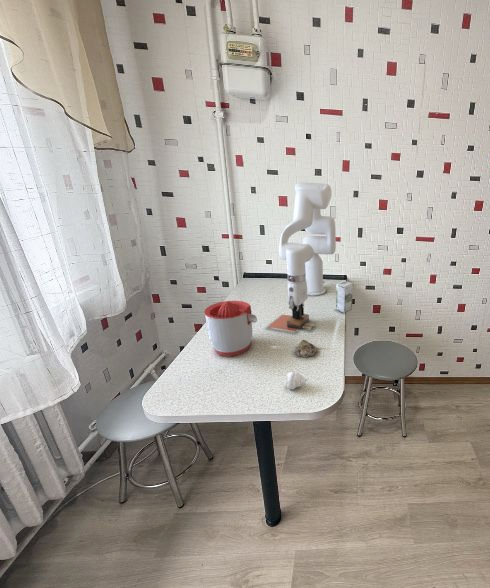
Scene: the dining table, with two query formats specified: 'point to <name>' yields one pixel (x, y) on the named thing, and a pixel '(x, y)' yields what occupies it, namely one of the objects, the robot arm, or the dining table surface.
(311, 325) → the cork chip
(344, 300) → the syrup box
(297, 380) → the garlic bulb
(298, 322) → the brush
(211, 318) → the citrus juicer
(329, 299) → the dining table surface
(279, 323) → the tile
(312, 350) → the mineral rock
